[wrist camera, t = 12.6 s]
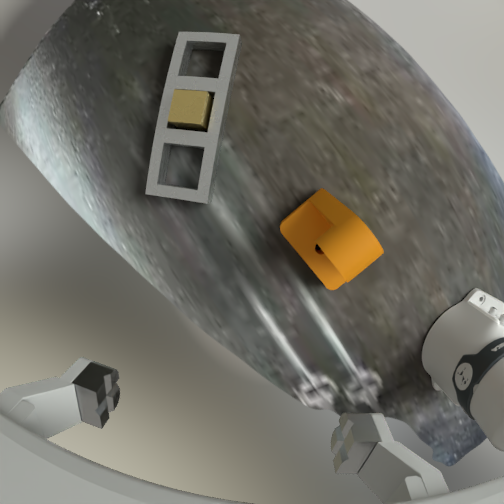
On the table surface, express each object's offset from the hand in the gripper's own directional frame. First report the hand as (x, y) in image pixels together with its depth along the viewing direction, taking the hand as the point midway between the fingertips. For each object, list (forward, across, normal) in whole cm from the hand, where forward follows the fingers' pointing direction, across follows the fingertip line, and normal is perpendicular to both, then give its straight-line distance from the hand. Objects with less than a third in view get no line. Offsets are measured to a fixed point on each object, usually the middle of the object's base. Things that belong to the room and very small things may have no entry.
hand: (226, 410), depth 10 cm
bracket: (+31, +8, +2) cm, 32 cm away
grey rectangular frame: (+31, -11, +15) cm, 36 cm away
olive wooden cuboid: (+31, -11, +15) cm, 36 cm away
